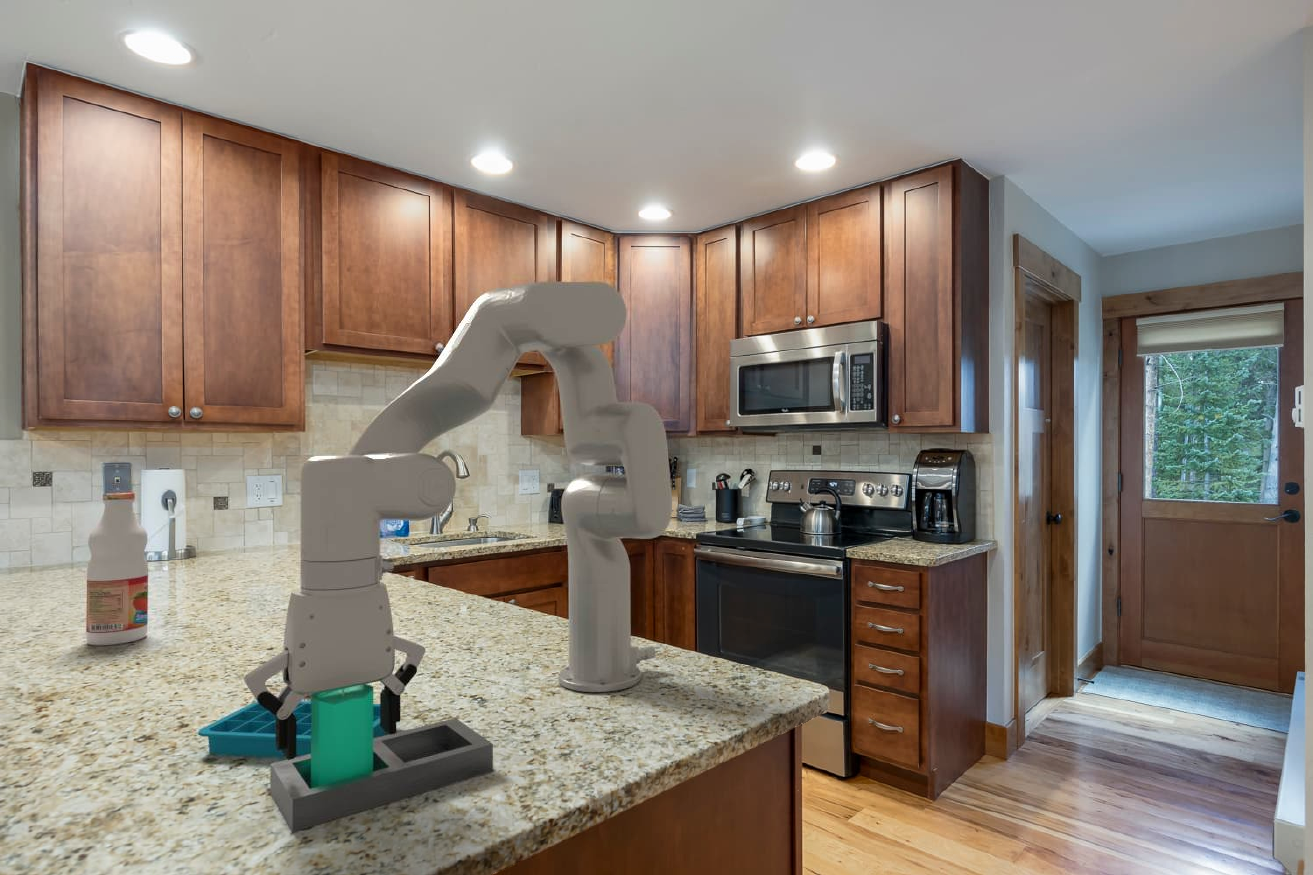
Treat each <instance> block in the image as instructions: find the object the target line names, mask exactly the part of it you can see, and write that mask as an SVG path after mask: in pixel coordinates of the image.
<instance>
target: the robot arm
mask: <svg viewBox="0 0 1313 875" xmlns="http://www.w3.org/2000/svg"><path fill="white" fill-rule="evenodd" d="M627 318H628V317H627V307H626V303H625V301H624V299H623V297H622V295H621V293H620V292H619V291H618V290H617V289H616V288H615V287H614V286H612V285H611V284H609V283H606V282H604V281H537V282H529V283H523V284H518V285H517V284H516V285H513V286H512V285H511V286H507V287H505V286H504V287H501V288H495V289H493V290H489V291H487V292H485V293H483V294H481V295H480V296H479V297H477V299H476V300H475V301H474V302H473V304H472V305H471V306H470V307H469V310H468V311H467V313H466V314H465V316H464V318H463V319H462V320H461V322H460V323H459V325H458V326H457V329H456V330H455V332H454V333H453V335H452V336H451V337H450V339H449V340H448V342H447V343H446V346H445V347H444V348H443V350H442V351H441V353H440V355H439V357H438V358H437V359H436V361H435V363H434V364H433V365H432V366H431V368H430V369H429V371H428V372H426V374H425V375H423V376H421V377H420V378H419V379H418V380H416V381H415V382H414V383H413V384H411V385H410V386H409V387H408V388H407V389H406V390H404V391H403V392H402V393H401V394H400V395H399V396H397V397H396V398H395V399H394V400H392V401H391V402H390V403H389V404H388V405H386V406H385V407H384V408H383V409H382V410H381V411H380V412H379V413H378V414H376V415H375V417H374V418H373V419H372V420H371V421H370V422H369V424H368V425H367V426H366V427H365V429H364V430H363V431H362V433H361V434H360V436H359V437H358V439H357V441H356V442H355V444H354V445H353V446H352V448H351V449H350V451H349V453H348V454H346V455H345V454H344V455H343V454H342V455H341V454H340V455H339V454H338V455H334V454H333V455H318V456H317V455H316V456H312V457H310V458H308V459H307V460H305V462H304V463H303V465H302V467H301V470H300V471H301V473H300V588H299V589H294V590H292V591H291V592H290V596H289V602H288V607H287V612H286V618H285V625H284V626H285V628H284V635H283V636H284V638H283V648H282V651H281V652H280V653H278V654H277V655H275V656H273V657H272V658H270V659H269V660H267V661H266V662H264V663H262V664H260V665H259V666H258V667H256V668H255V669H253V670H251V671H250V672H248V673H247V674H245V675H244V678H243V682H244V683H245V685H246V686H247V688H248V690H249V691H250V692H251V694H252V696H253V697H254V698H255V700H256V702H258V703H259V704H260V705H261V706H262V707H264V708H265V709H267V710H268V711H270V712H271V713H272V714H274V715H275V716H276V748H277V750H282V752H283V754H284V755H285V757H286V758H285V759H286V760H291V759H294V757H296V734H297V720H296V717H295V716H294V715H293V710H294V709H295V708H296V707H297V705H298V704H299V703H300V701H303V699H304V698H305V696H309V695H311V696H312V694H317V693H323V692H328V691H333V690H338V689H343V688H348V687H353V686H358V685H363V684H367V685H369V684H372V683H373V684H374V683H376V682H380V683H381V684H383V685H384V686H383V688H384V689H381V691H380V692H379V704H380V726H381V728H382V729H383V730H384V731H386V732H387V735H389V734H390V735H392V734H396V733H397V723H400V722H401V695H402V694H404V692H405V691H406V687H407V685H408V684H409V682H410V681H412V680H413V678H414V677H415V676H416V674H417V672H418V668H419V666H420V664H421V662H422V660H423V658H424V655H425V653H426V648H425V646H423V645H421V644H419V643H416V642H413V641H411V640H408V639H406V638H403V637H399V636H397V635H395V634H394V624H393V623H394V622H393V615H392V609H391V603H390V597H389V594H388V588H387V585H386V584H385V583H384V582H383V581H382V579H383V576H384V574H386V573H387V572H393V571H394V568H395V566H394V564H395V563H394V560H393V558H388V559H386V558H384V557H383V555H381V522H382V521H384V520H396V521H409V522H421V521H427V520H430V519H432V518H435V517H437V516H439V515H441V514H442V513H444V512H445V511H446V509H447V508H448V507H450V506H451V503H452V502H453V500H454V498H455V494H456V490H457V489H456V488H457V484H456V482H457V480H456V477H455V475H454V473H453V471H452V469H451V468H450V466H449V465H448V464H447V463H445V462H444V461H443V460H442V459H440V458H438V457H437V456H434V455H431V454H427V453H422V450H423V449H424V448H425V447H427V445H429V444H430V443H431V442H433V441H434V440H435V439H437V438H438V437H440V436H442V435H444V434H445V433H447V432H449V431H451V430H454V429H456V428H458V427H460V426H464V424H467V423H470V422H471V421H473V420H474V419H476V418H479V417H480V416H481V415H483V414H485V413H486V412H488V411H489V410H490V409H491V408H492V407H493V405H494V404H495V402H496V400H497V398H498V397H499V394H500V393H501V391H502V389H503V387H504V385H505V384H506V382H507V380H508V379H509V376H510V375H511V373H512V372H513V369H514V367H516V364H517V363H518V361H519V359H520V358H521V356H522V355H523V354H524V353H527V352H532V351H537V352H539V353H540V354H541V355H542V356H543V357H544V358H545V359H546V361H547V362H548V363H549V365H550V366H551V368H552V370H553V372H554V374H555V377H556V380H557V381H556V382H557V385H558V386H557V387H558V391H559V400H560V408H561V409H560V410H561V420H562V428H563V437H564V438H563V439H564V445H565V449H566V452H567V455H568V457H569V459H571V461H572V462H574V463H576V464H578V465H582V466H587V467H588V466H590V467H623V468H624V474H620V473H590V474H585V475H580V476H578V477H576V478H574V479H572V481H571V480H570V481H569V483H568V485H566V487H565V489H564V491H563V493H562V496H561V500H560V501H561V503H560V504H561V505H560V506H561V516H562V521H563V526H564V530H565V531H564V532H565V535H566V544H567V554H568V555H567V560H568V562H567V564H568V666H566V667H564V668H562V670H560V671H559V673H558V683H559V684H560V685H561V686H563V687H564V688H566V689H569V690H572V691H577V692H583V693H607V692H615V691H620V690H625V689H627V688H630V687H633V686H635V685H637V684H639V682H640V681H641V679H642V673H641V670H640V668H639V667H638V666H637V665H639V664H640V663H641V661H647V660H652V659H654V658H656V655H657V652H656V649H655V647H654V646H652V645H650V646H645V647H641V648H639V646H637V645H635V646H632V644H631V641H632V640H631V639H632V636H631V635H632V634H631V631H632V630H631V628H632V627H631V564H630V563H631V562H630V560H629V554H628V553H627V550H626V548H625V546H624V543H623V542H622V540H621V539H620V538H624V539H625V538H626V539H639V540H644V539H645V540H647V539H648V540H651V539H654V538H655V539H656V538H658V537H660V536H661V535H662V534H664V533H665V532H666V530H667V529H668V527H669V525H670V522H671V518H672V514H673V499H672V498H673V497H672V495H673V494H672V486H671V485H672V483H671V474H670V471H671V470H670V461H669V451H668V450H669V449H668V448H669V447H668V441H667V432H666V427H665V425H664V422H663V419H662V417H661V415H660V414H659V412H658V411H657V410H656V409H655V408H654V407H653V406H652V405H650V404H648V403H645V402H642V401H641V402H640V401H624V402H623V401H621V402H619V401H618V398H617V392H616V385H615V377H614V372H613V368H612V365H611V363H610V361H609V359H608V357H607V356H606V354H605V353H604V351H603V349H601V347H600V346H599V345H606V344H610V343H612V342H614V341H615V340H617V338H619V337H620V335H621V334H622V333H623V330H624V329H625V327H626V322H627ZM381 581H382V582H381ZM395 651H399V652H401V653H404V654H406V658H405V660H404V662H403V663H402V664H401V666H400V667H399V668H398V669H397V670H396V672H395V673H394V670H395V662H396V660H395V659H396V652H395ZM280 672H281V673H282V680H283V683H284V684H286V685H285V687H284V688H283V690H282V691H281V692H280V693H278V695H277V696H276V695H275V694H274V693H272V692H271V691H270V690H269V689H268V688H267V686H266V682H267V681H268V680H269V679H271V678H273V677H274V676H275V675H277V674H279V673H280Z"/></svg>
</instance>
